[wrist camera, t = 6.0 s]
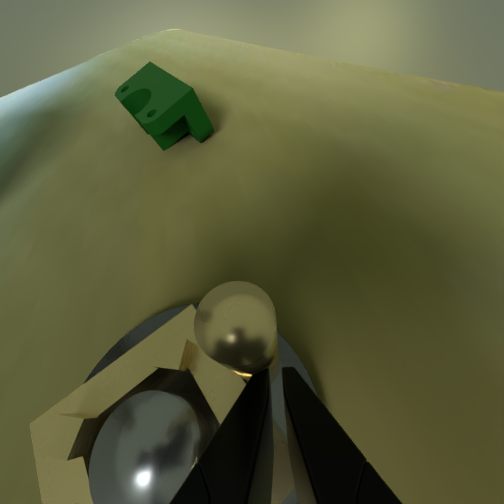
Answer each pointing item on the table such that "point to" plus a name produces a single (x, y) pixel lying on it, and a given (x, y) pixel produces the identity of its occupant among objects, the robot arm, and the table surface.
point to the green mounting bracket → (164, 106)
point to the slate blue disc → (163, 429)
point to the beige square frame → (166, 385)
